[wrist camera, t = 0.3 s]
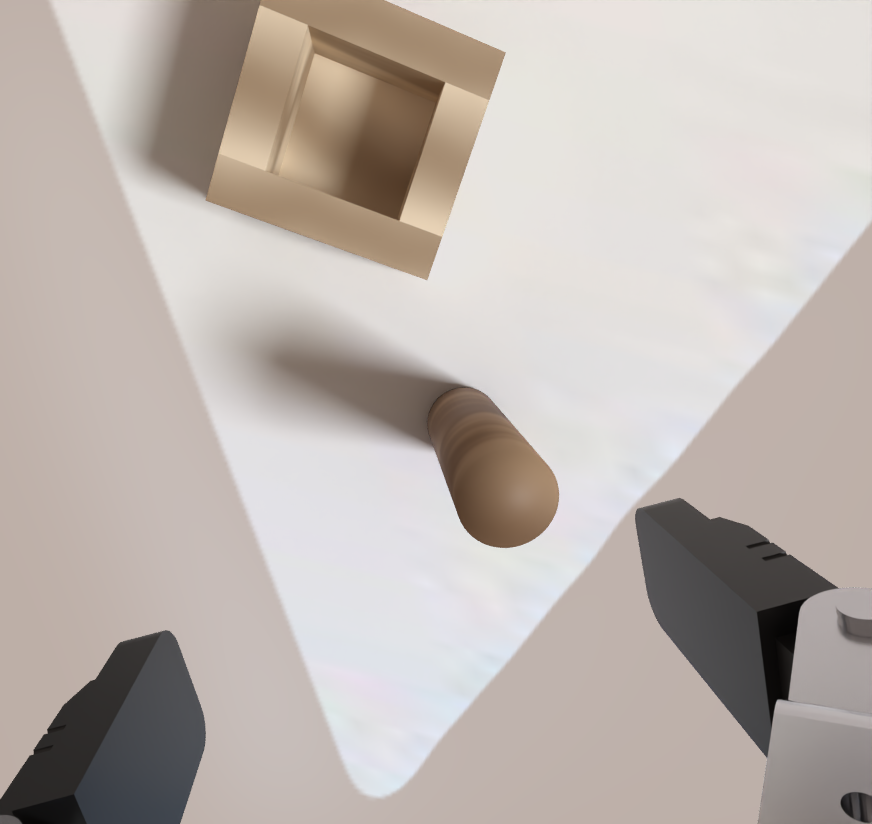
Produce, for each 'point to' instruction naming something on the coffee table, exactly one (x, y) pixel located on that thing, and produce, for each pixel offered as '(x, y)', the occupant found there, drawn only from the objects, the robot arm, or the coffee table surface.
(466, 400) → the dowel
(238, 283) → the coffee table surface
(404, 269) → the socket block
